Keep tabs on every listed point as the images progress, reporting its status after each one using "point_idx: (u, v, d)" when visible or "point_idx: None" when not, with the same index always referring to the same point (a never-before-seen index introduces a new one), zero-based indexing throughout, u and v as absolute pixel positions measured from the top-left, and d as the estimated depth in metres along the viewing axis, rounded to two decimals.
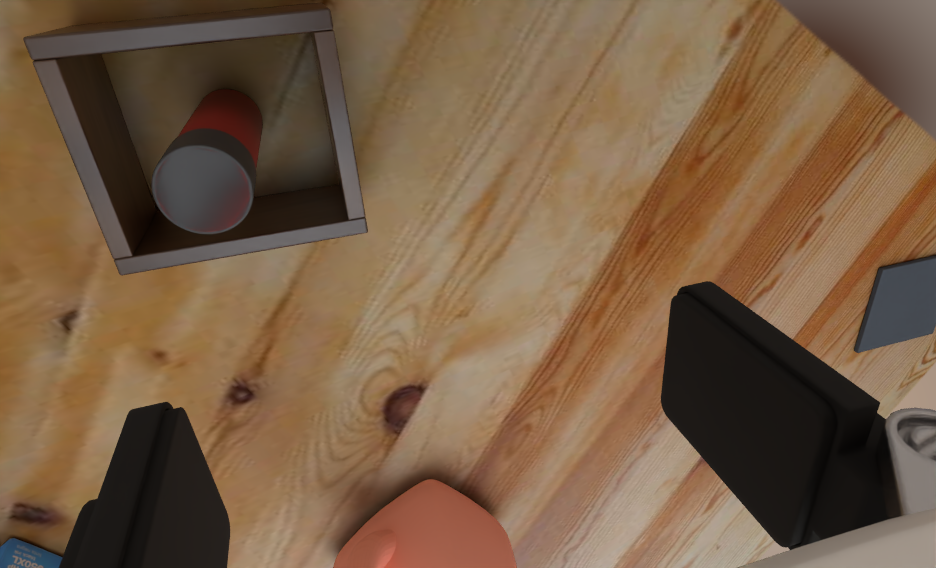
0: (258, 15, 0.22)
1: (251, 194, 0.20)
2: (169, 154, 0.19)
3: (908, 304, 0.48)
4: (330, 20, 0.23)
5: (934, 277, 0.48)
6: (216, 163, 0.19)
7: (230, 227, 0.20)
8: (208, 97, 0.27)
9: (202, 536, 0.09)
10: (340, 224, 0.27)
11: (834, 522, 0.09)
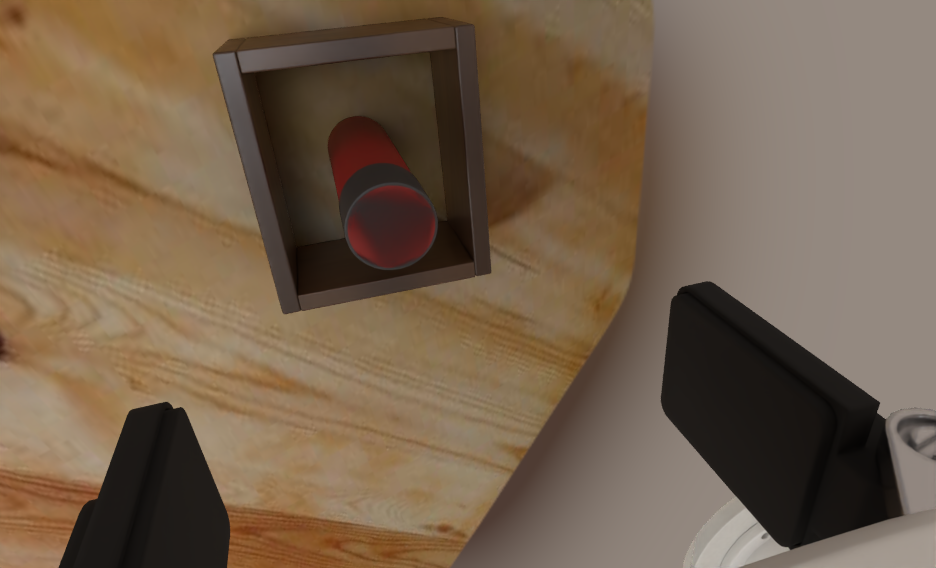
0: (487, 220, 0.26)
1: (387, 268, 0.20)
2: (429, 202, 0.19)
3: None
4: (482, 274, 0.27)
5: None
6: (420, 241, 0.20)
7: (352, 248, 0.19)
8: None
9: (202, 536, 0.09)
10: (292, 288, 0.25)
11: (834, 522, 0.09)
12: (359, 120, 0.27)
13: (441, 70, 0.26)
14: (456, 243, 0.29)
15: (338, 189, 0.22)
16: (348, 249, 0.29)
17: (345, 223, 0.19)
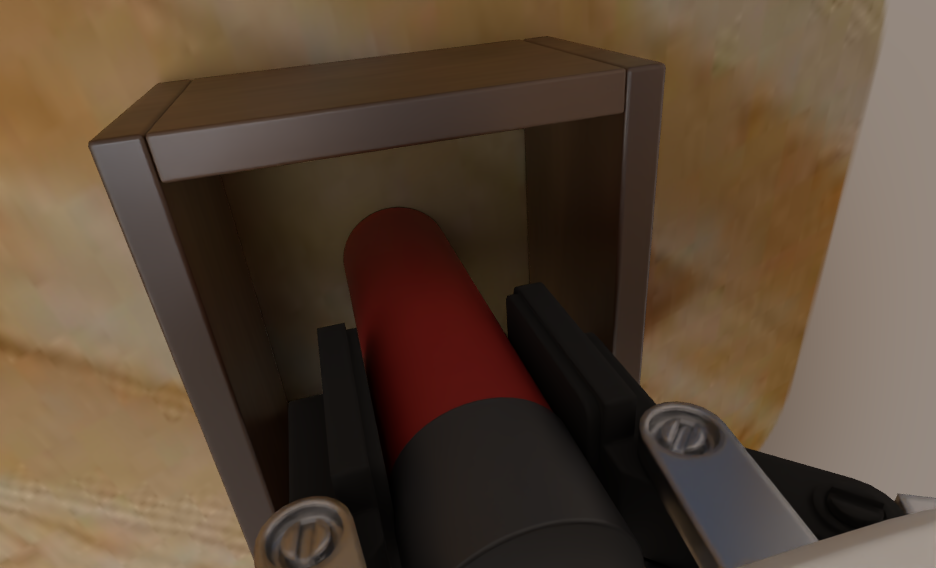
0: None
1: None
2: (633, 546, 0.07)
3: None
4: None
5: None
6: None
7: None
8: (454, 251, 0.16)
9: None
10: None
11: None
12: (401, 220, 0.15)
13: (556, 137, 0.14)
14: None
15: (380, 426, 0.10)
16: None
17: None
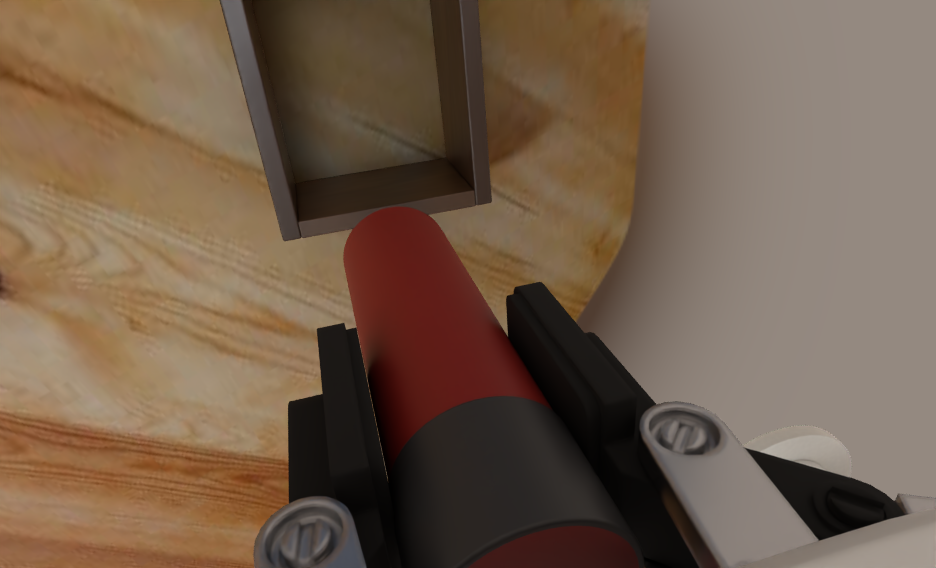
0: (487, 146, 0.26)
1: None
2: (634, 544, 0.07)
3: None
4: (483, 203, 0.27)
5: None
6: None
7: None
8: None
9: None
10: (292, 214, 0.25)
11: None
12: (401, 219, 0.15)
13: None
14: (456, 175, 0.29)
15: (380, 425, 0.10)
16: (347, 183, 0.29)
17: None
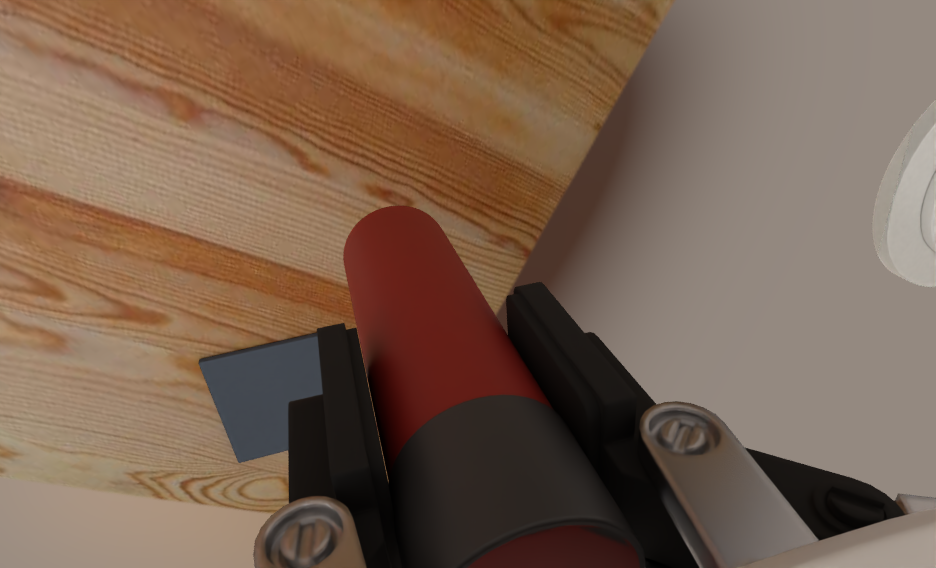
0: None
1: None
2: (635, 544, 0.07)
3: (285, 398, 0.36)
4: None
5: None
6: None
7: None
8: (454, 249, 0.16)
9: None
10: None
11: None
12: (401, 218, 0.15)
13: None
14: None
15: (381, 424, 0.10)
16: None
17: None
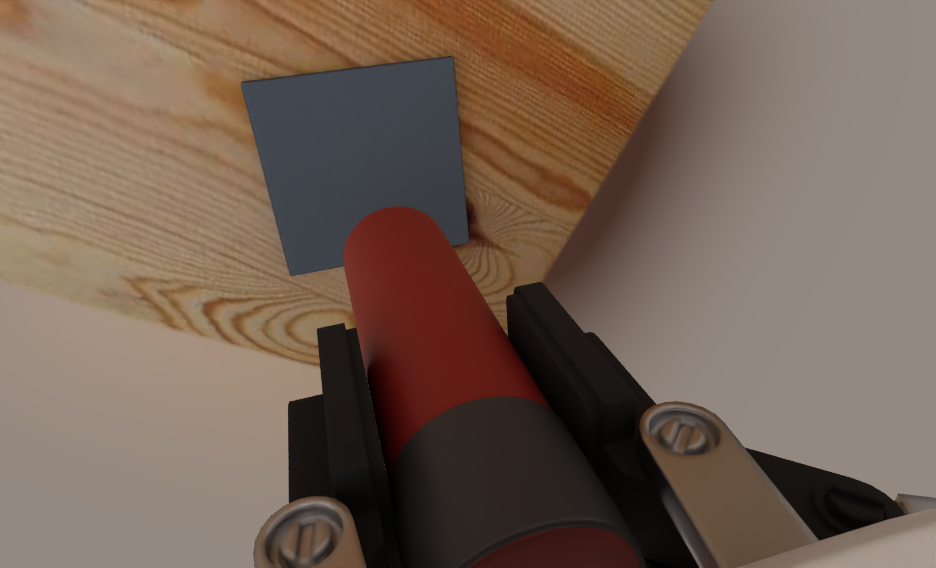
0: None
1: None
2: (634, 545, 0.07)
3: (366, 170, 0.24)
4: None
5: (423, 203, 0.25)
6: None
7: None
8: None
9: None
10: None
11: None
12: (400, 219, 0.15)
13: None
14: None
15: (380, 425, 0.10)
16: None
17: None
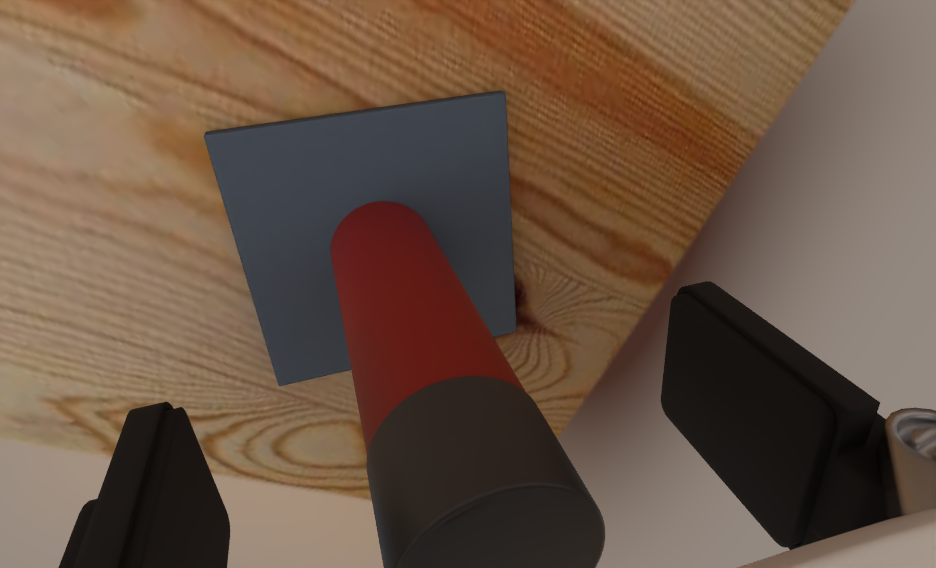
0: None
1: None
2: (593, 511, 0.08)
3: None
4: None
5: None
6: None
7: None
8: None
9: (202, 536, 0.09)
10: None
11: (834, 522, 0.09)
12: (385, 213, 0.16)
13: None
14: None
15: (361, 406, 0.10)
16: None
17: None
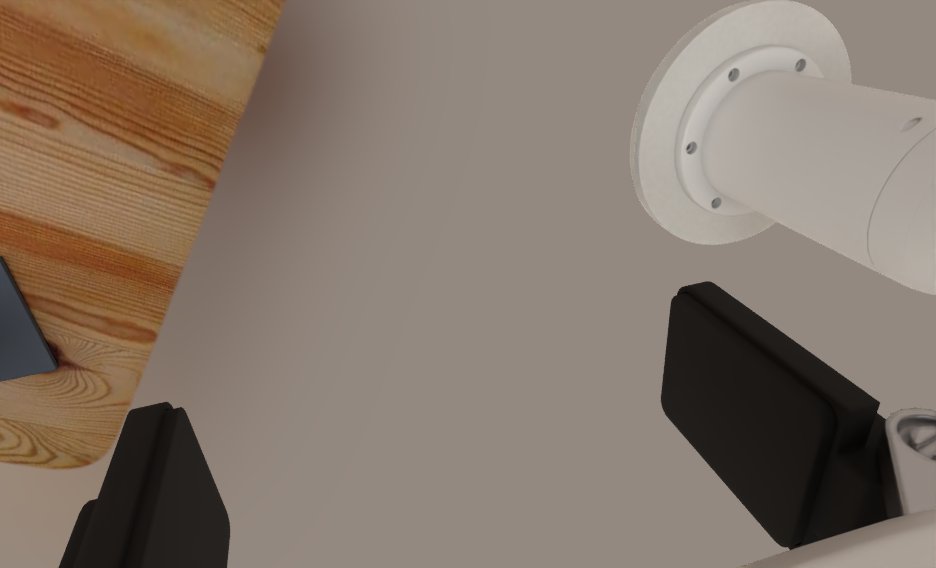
0: None
1: None
2: None
3: None
4: None
5: (8, 347, 0.36)
6: None
7: None
8: None
9: (202, 536, 0.09)
10: None
11: (834, 522, 0.09)
12: None
13: None
14: None
15: None
16: None
17: None
